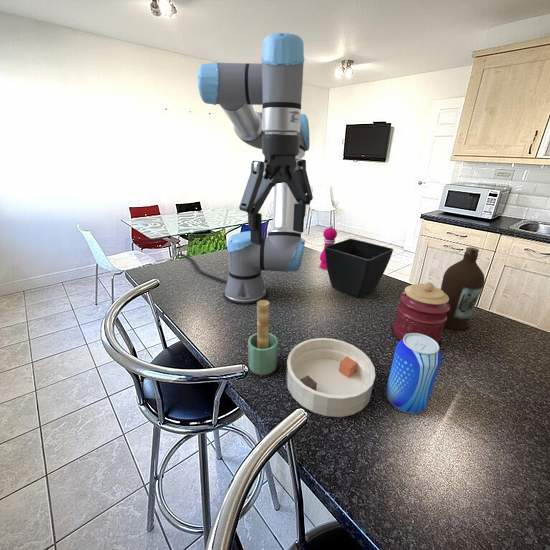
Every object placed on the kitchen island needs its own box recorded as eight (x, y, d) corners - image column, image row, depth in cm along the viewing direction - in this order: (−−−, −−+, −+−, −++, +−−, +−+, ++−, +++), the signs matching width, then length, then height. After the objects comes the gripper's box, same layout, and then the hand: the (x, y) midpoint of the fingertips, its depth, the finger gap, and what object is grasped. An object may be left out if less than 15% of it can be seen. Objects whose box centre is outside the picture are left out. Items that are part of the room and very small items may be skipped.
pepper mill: (334, 270, 132) (339, 227, 124) (318, 269, 133) (322, 226, 125) (334, 264, 138) (339, 223, 130) (319, 263, 139) (323, 222, 131)
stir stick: (255, 364, 74) (254, 302, 66) (263, 359, 75) (263, 298, 68) (262, 370, 72) (262, 307, 64) (270, 365, 74) (271, 303, 66)
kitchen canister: (419, 354, 79) (435, 297, 72) (383, 329, 90) (393, 277, 83) (449, 341, 85) (466, 287, 78) (411, 319, 95) (424, 270, 88)
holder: (242, 366, 74) (241, 340, 71) (263, 353, 79) (263, 328, 75) (262, 381, 69) (262, 354, 66) (282, 366, 74) (283, 341, 71)
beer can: (378, 388, 68) (391, 331, 62) (413, 386, 69) (429, 329, 62) (395, 418, 60) (411, 357, 54) (433, 416, 61) (454, 355, 55)
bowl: (268, 383, 69) (269, 363, 66) (319, 346, 82) (321, 328, 79) (339, 438, 56) (343, 415, 54) (386, 384, 69) (390, 364, 67)
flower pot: (346, 274, 129) (350, 237, 122) (386, 288, 116) (394, 248, 109) (319, 287, 116) (323, 246, 109) (362, 304, 104) (369, 260, 97)
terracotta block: (338, 371, 72) (339, 361, 70) (345, 365, 74) (347, 356, 72) (348, 378, 70) (350, 368, 68) (355, 372, 72) (357, 362, 70)
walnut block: (297, 390, 66) (297, 380, 65) (307, 385, 67) (307, 375, 66) (305, 399, 64) (306, 389, 62) (316, 393, 65) (317, 383, 64)
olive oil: (424, 314, 98) (443, 244, 88) (451, 311, 101) (472, 242, 90) (448, 333, 89) (472, 256, 79) (477, 329, 91) (504, 254, 81)
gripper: (243, 132, 47) (246, 254, 56) (333, 135, 63) (324, 230, 72) (217, 132, 52) (223, 244, 61) (306, 135, 68) (301, 224, 77)
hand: (278, 237), depth 67 cm, fingers open, 13 cm apart
